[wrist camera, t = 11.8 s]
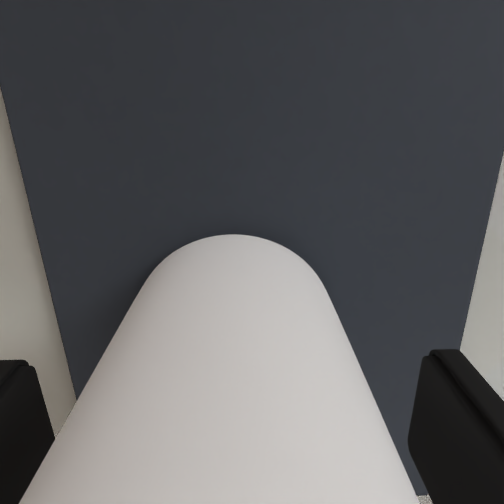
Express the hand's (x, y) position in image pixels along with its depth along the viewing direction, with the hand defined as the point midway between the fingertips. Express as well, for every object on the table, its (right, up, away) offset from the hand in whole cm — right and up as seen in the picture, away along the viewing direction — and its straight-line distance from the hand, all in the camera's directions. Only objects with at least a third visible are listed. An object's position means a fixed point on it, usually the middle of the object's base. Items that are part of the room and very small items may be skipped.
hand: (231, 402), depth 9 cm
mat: (+1, +2, +4) cm, 4 cm away
